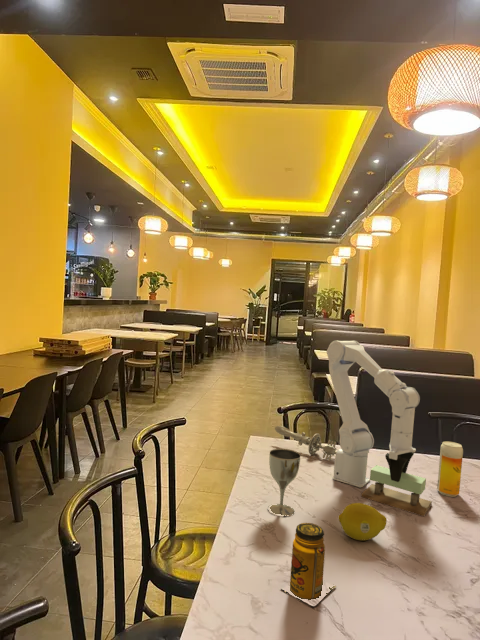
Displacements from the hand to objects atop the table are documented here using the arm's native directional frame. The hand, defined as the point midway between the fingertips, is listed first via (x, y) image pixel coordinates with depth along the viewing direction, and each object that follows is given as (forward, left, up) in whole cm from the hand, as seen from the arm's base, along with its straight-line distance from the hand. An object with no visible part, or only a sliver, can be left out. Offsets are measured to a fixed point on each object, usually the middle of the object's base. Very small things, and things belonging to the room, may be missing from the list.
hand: (398, 477), depth 126 cm
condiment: (-1, -52, -7) cm, 52 cm away
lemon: (0, -27, -7) cm, 28 cm away
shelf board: (0, 0, -2) cm, 2 cm away
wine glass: (-21, -28, -7) cm, 36 cm away
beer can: (+11, +17, -7) cm, 21 cm away
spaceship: (-34, +18, -7) cm, 39 cm away
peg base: (0, 0, -7) cm, 7 cm away
